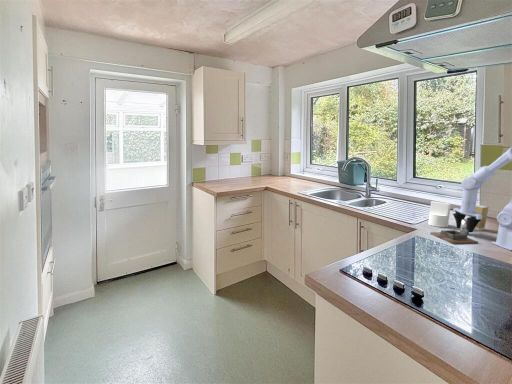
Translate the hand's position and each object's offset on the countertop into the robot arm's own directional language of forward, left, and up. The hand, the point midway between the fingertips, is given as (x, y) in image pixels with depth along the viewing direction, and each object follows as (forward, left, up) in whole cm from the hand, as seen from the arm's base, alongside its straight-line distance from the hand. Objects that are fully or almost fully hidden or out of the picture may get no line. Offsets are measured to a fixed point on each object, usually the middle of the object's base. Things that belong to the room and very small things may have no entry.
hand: (464, 230), depth 145 cm
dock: (-6, +11, -2) cm, 13 cm away
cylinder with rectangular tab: (+15, +2, -2) cm, 15 cm away
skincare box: (+7, -13, -2) cm, 15 cm away
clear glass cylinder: (0, 0, -2) cm, 2 cm away
